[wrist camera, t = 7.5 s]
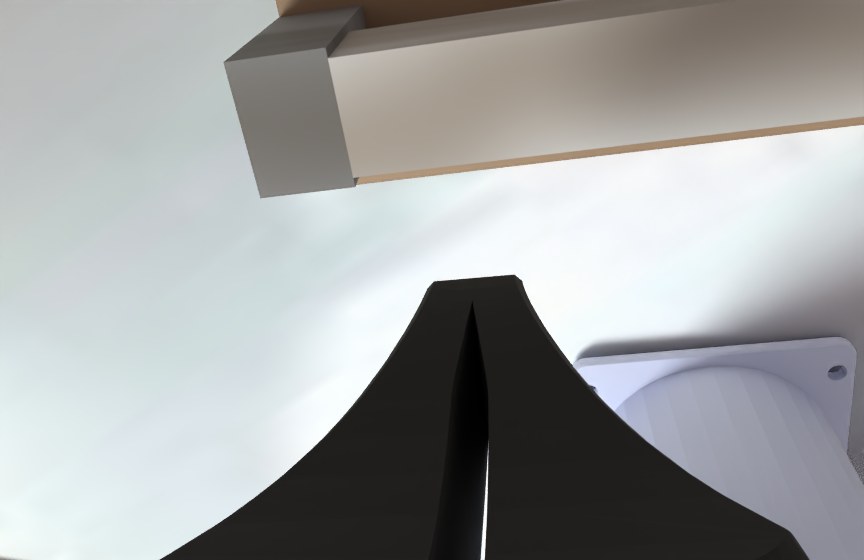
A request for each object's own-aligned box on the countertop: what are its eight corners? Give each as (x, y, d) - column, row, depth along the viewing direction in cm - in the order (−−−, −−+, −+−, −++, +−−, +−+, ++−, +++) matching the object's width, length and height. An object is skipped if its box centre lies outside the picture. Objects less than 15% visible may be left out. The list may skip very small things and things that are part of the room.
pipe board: (1382, 47, 19) (1679, 119, 14) (327, 175, 22) (279, 266, 18) (1500, -262, 16) (1920, -303, 11) (273, -60, 19) (200, -27, 15)
